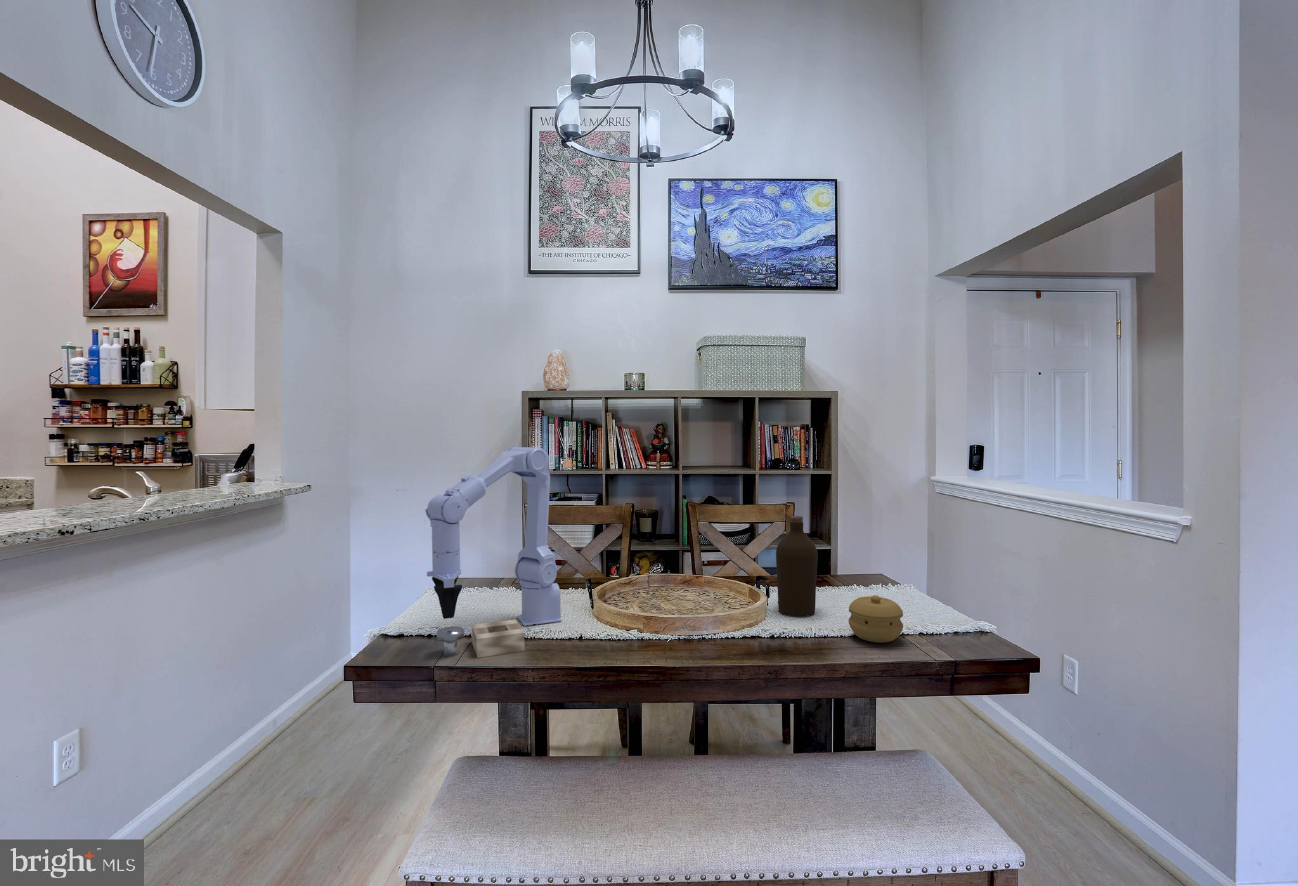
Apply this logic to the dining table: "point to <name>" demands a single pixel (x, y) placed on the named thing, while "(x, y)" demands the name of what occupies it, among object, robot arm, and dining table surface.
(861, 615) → the lidded pot
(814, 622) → the dining table surface
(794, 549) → the olive oil
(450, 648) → the grey metal knob
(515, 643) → the maple block
